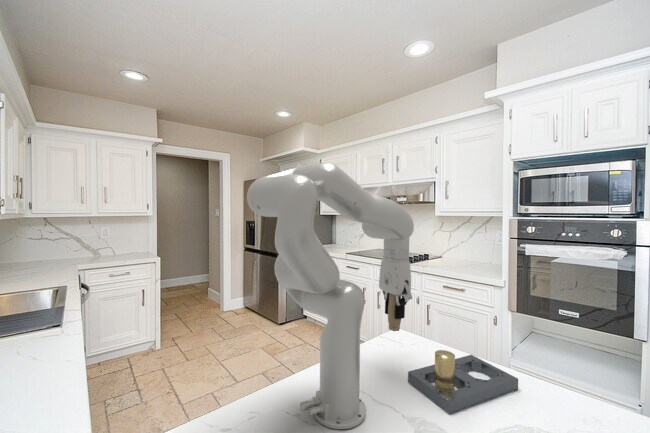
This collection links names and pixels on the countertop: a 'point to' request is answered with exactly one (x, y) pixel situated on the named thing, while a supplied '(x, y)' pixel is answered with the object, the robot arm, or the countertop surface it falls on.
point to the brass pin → (445, 370)
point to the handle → (392, 312)
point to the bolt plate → (464, 384)
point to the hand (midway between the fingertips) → (394, 315)
